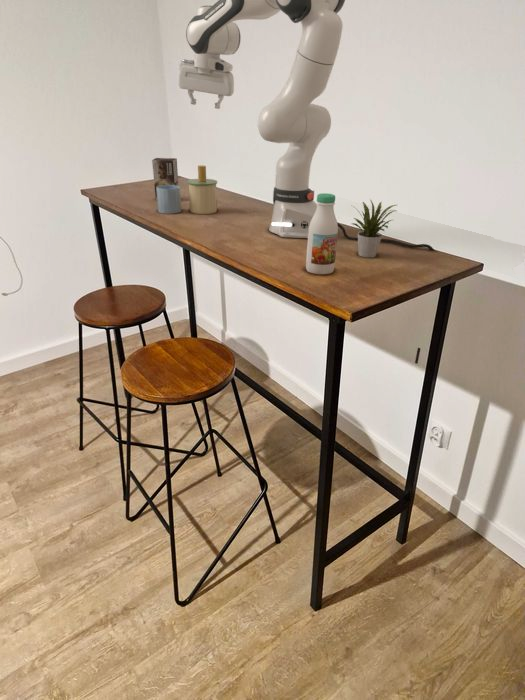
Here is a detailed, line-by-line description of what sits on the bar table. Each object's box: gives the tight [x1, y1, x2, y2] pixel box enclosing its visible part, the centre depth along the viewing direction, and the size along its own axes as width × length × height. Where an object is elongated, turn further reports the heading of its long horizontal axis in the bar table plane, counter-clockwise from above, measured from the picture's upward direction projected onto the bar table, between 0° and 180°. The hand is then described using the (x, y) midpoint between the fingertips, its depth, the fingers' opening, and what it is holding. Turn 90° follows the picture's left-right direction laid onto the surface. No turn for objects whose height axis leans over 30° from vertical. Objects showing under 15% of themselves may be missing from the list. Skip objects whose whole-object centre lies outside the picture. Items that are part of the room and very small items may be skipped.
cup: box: [156, 185, 182, 215], centre depth 182 cm, size 9×9×9 cm
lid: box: [186, 164, 218, 186], centre depth 180 cm, size 11×11×7 cm
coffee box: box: [151, 157, 180, 201], centre depth 199 cm, size 9×6×16 cm
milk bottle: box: [305, 192, 339, 275], centre depth 124 cm, size 8×8×20 cm
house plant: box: [351, 199, 398, 259], centre depth 138 cm, size 14×14×16 cm
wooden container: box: [188, 184, 218, 215], centre depth 184 cm, size 10×10×10 cm
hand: (205, 106), depth 174 cm, fingers open, 8 cm apart
